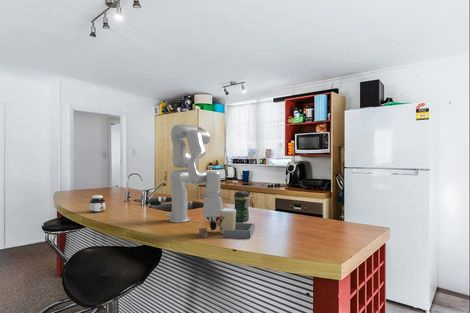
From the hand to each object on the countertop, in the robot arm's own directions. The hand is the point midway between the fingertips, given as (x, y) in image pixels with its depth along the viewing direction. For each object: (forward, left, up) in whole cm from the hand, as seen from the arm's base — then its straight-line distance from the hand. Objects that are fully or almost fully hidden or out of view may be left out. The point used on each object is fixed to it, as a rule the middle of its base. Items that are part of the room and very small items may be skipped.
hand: (213, 229), depth 145 cm
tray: (+14, 0, -1) cm, 14 cm away
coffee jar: (+10, +29, -2) cm, 31 cm away
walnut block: (-2, -10, -1) cm, 10 cm away
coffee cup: (+7, +1, -1) cm, 8 cm away
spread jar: (-99, +36, -2) cm, 106 cm away
